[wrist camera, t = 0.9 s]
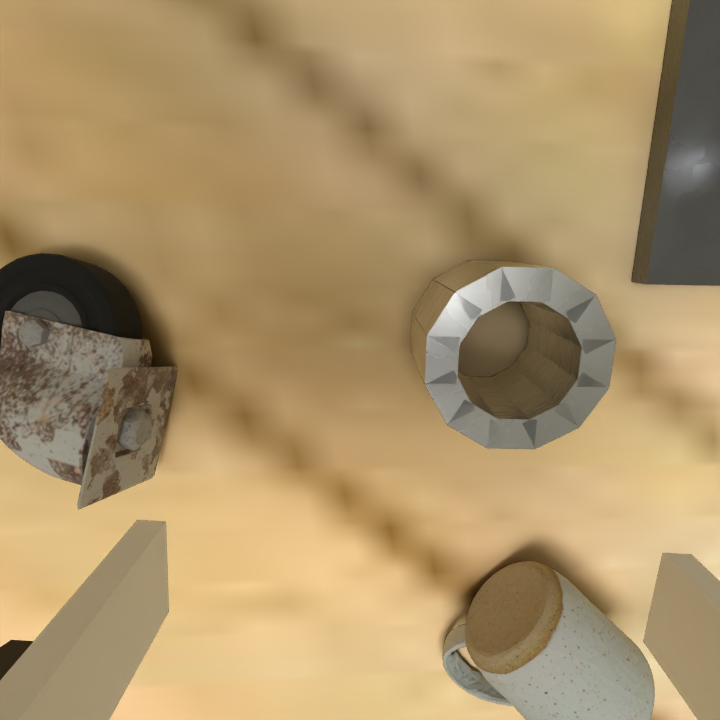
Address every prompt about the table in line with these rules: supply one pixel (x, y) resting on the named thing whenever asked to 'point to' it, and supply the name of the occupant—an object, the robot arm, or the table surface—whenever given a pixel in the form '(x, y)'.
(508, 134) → the table surface
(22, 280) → the caster wheel
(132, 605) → the robot arm
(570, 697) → the ceramic mug
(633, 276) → the shaft block
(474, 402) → the tube
